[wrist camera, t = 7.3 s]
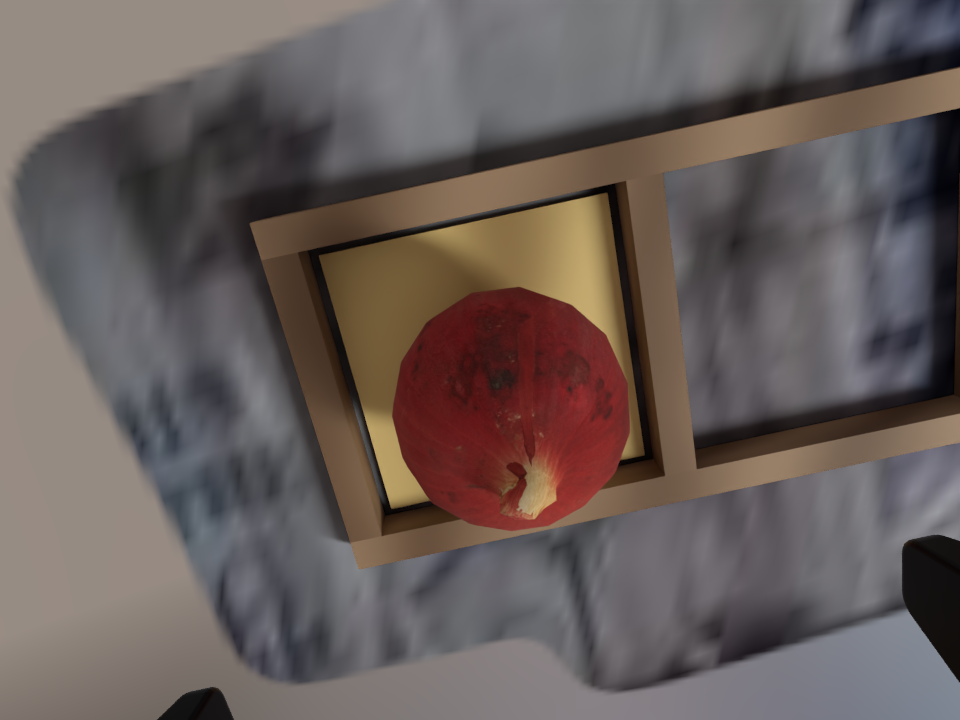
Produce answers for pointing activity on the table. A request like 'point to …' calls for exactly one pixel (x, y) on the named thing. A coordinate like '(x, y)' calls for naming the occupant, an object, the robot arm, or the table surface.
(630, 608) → the table surface
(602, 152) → the wooden divided frame
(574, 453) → the red pomegranate
